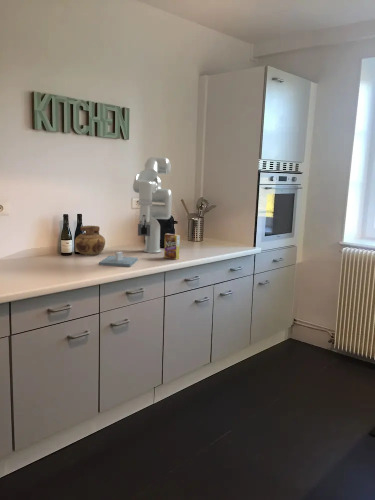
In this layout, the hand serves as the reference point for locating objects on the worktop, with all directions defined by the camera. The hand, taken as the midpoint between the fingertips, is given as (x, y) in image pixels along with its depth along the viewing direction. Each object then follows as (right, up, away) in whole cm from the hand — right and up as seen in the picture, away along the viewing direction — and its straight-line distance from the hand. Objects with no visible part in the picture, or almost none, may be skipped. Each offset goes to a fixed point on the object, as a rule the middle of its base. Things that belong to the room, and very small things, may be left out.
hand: (144, 233), depth 255 cm
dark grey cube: (0, -1, 0) cm, 1 cm away
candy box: (+15, -15, +19) cm, 29 cm away
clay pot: (-37, -13, +23) cm, 45 cm away
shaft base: (-15, -17, +2) cm, 23 cm away
